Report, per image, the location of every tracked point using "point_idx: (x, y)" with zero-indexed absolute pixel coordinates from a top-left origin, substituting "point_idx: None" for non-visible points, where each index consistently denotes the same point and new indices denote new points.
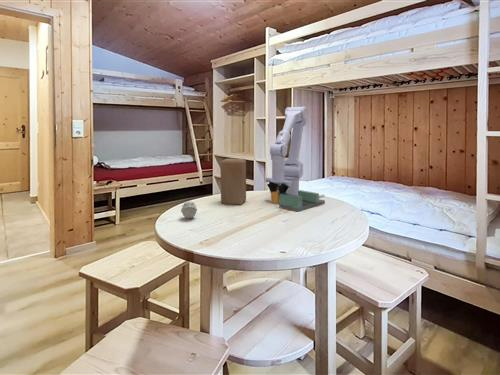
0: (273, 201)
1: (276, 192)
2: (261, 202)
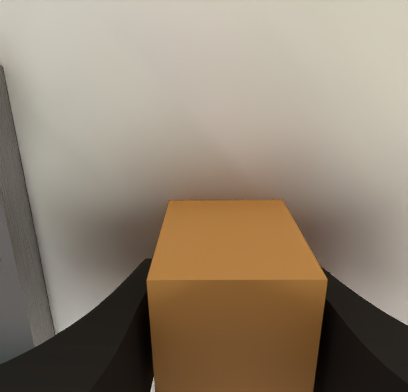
0: (242, 207)
1: (215, 313)
2: (384, 102)
